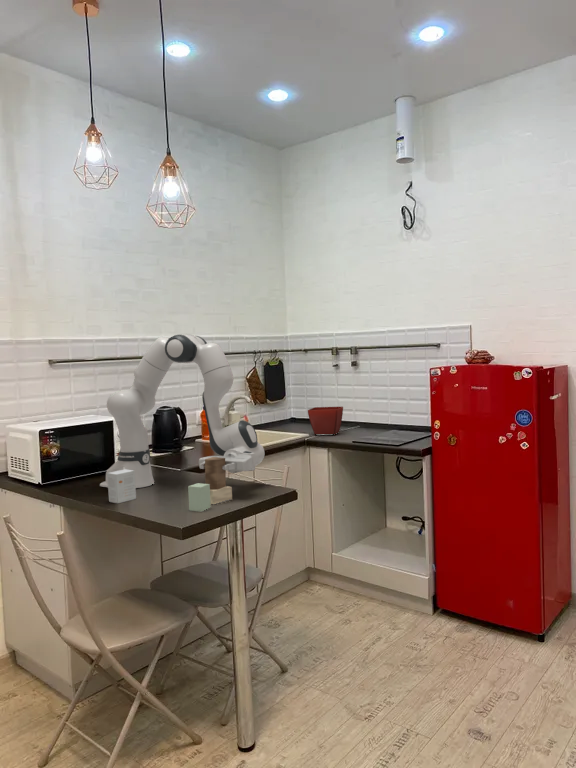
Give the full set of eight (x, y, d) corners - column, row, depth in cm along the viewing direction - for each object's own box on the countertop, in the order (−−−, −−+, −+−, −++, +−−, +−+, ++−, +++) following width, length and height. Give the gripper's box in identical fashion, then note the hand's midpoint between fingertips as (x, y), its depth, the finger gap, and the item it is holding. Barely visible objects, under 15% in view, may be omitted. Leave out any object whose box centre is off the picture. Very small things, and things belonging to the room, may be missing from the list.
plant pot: (308, 436, 362) (307, 409, 361) (315, 432, 380) (314, 407, 379) (338, 436, 356) (337, 409, 355) (344, 432, 374) (343, 406, 374)
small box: (127, 497, 215) (125, 468, 215) (136, 498, 212) (135, 470, 211) (108, 501, 209) (106, 472, 209) (117, 503, 205) (115, 474, 205)
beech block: (199, 502, 203) (199, 488, 202) (218, 498, 208) (217, 484, 208) (213, 505, 197) (213, 491, 197) (232, 501, 203) (231, 486, 202)
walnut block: (205, 488, 201) (204, 459, 201) (213, 485, 206) (213, 457, 205) (217, 489, 199) (216, 460, 199) (225, 486, 203) (225, 458, 203)
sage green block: (189, 510, 191) (188, 486, 191) (198, 506, 196) (197, 483, 195) (201, 511, 189) (200, 487, 189) (210, 508, 193) (209, 484, 193)
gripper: (211, 450, 218) (188, 456, 206) (258, 452, 209) (236, 459, 196) (212, 467, 219) (189, 474, 207) (258, 470, 209) (237, 478, 197)
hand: (212, 467), depth 201 cm, fingers open, 8 cm apart
